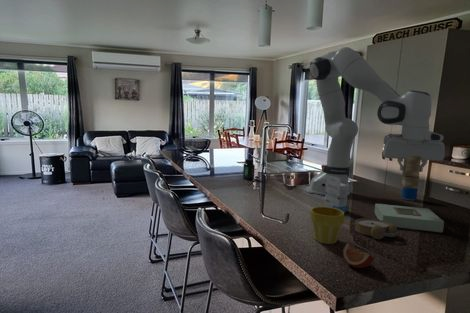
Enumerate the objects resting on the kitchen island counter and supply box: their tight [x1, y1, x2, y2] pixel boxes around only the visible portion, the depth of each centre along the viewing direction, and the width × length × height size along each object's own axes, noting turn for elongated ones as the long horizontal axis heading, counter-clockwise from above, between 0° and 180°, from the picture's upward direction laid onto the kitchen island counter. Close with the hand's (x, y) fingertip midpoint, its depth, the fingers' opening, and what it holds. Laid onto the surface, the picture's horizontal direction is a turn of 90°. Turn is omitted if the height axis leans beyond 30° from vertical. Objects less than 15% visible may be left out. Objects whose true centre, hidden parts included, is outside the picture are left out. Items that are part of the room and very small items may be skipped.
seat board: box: [374, 203, 445, 233], centre depth 120 cm, size 20×16×4 cm
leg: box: [401, 156, 422, 189], centre depth 118 cm, size 5×5×12 cm
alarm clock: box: [352, 218, 399, 240], centre depth 107 cm, size 11×5×15 cm
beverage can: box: [401, 180, 420, 202], centre depth 154 cm, size 6×6×12 cm
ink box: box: [324, 175, 349, 213], centre depth 132 cm, size 8×5×15 cm, turn 26°
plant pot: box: [310, 206, 345, 245], centre depth 100 cm, size 10×10×10 cm
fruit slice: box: [342, 242, 375, 269], centre depth 84 cm, size 8×7×5 cm
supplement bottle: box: [242, 158, 256, 181], centre depth 189 cm, size 7×7×12 cm
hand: (410, 171), depth 118 cm, fingers closed on leg, 4 cm apart
